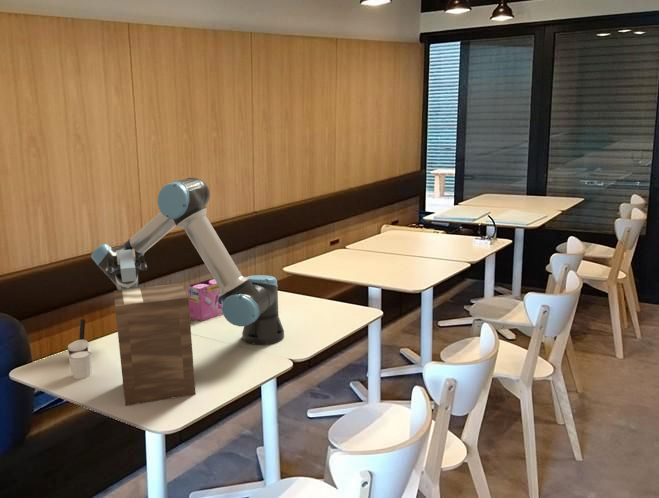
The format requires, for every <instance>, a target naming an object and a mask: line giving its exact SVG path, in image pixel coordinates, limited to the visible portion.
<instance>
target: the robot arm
mask: <svg viewBox="0 0 659 498" xmlns="http://www.w3.org/2000/svg"><path fill="white" fill-rule="evenodd" d="M210 198H211V193H210V188H209V185H208V184H207V183H206V182H205V181H204V180H202V179H201V178H198V177H188V178H184V179H179V180H172V181H171V182H169V183H166V184H165V185H163V186H162V187H161V189H160V190H159V191H158V195H157V200H156V201H157V206H158V209H159V212H157V214H156V215H155V216H154V217H153V218H151V219H150V220H149V221H148V222H147V223H145V225H144V226H142V227H141V228H140V229H139V230H138V231H137V232H136V233H134V234H133V235H132V236H130V238H128V239H127V240H126V242H124V243H122V244H120V245H117V246H115V247H111V246H110V245H109V244H107V243H103V244H101V245H99V246H97V247H96V248H95V249H94V250H93V252H91V255H90V256H91V259H92V261H94V263H95V264H96V266H98V268H99V269H100V270H101V271H102V272H103V273H104V274H105V275H106V276H107V277H108V279H110V280H111V281H112V283H113V284H114V285H115V286H116V289H117V290H126V289H135V288H138V286H139V272H140V270H141V271H147V270H148V265H147V262H146V261H145V253H146V252H148V250H150V248H152V247H153V246H154V245H156V243H159V241H160V240H161V239H162V238H164V237H165V236H166V235H167V234H169V232H171V231H172V230H173V229H175V227H178V228H182V229H183V230H184V231H185V233H186V235H187V237H188V238H189V240H190V241H191V243H192V245H193V246H194V249H196V251H197V253H198V254H199V256H200V258H201V259H202V261H203V263H204V264H205V266H206V267H207V269H208V271H209V273H210V275H211V276H212V278H214V279H215V281H216V283H217V284H218V286H219V288H220V294H219V296H220V298H221V300H222V301H223V305H222V312H223V314H222V315H223V317H224V318H225V320H226V321H227V322H228V323H230V324H231V325H233V326H236V327H243V330H242V333H241V334H242V340H243V341H244V342H245V343H247V344H251V345H259V346H260V345H261V346H262V345H270V344H276V343H279V342H280V341H283V339H284V338H285V330H284V327H283V324H282V322H281V318H280V317H279V316H280V315H279V296H278V295H279V294H278V293H279V292H278V287H279V286H278V280H277V278H276V277H275V276H272V275H263V274H262V275H261V274H260V275H258V274H256V275H248V276H243V275H242V273H241V271H240V270H239V268H238V266H237V265H236V263H235V261H234V260H233V258H232V256H231V255H230V254H229V252H228V250H227V248H226V247H225V245H224V243H223V242H222V240H221V239H220V237H219V235H218V233H217V231H216V230H215V229H214V227H213V225H212V223H211V221H210V220H209V218H208V216H207V212H208V208H207V204H208V203H209V200H210ZM120 250H132V254H133V259H134V263H135V269H136V280H137V281H128V282H122V276H121V268H120V258H119V251H120ZM139 264H140V265H139Z"/></svg>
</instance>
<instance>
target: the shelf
mask: <svg viewBox="0 0 659 498" xmlns="http://www.w3.org/2000/svg"><path fill="white" fill-rule="evenodd" d="M113 299H114V308H115V318H116V327H117V330H116V331H117V339H118V348H119V357H120V368H121V376H122V378H121V379H122V387H123V394H124V395H123V396H124V405H125V407H126V406H133V405H139V404H146V403H150V402H157V401H164V400H170V399H174V398H181V397H188V396H192V395H197V394H196V381H195V369H194V368H195V367H194V353H193V343H192V342H193V341H192V331H191V330H192V329H191V328H192V327H191V318H190V313H189V299H188V293H187V292H186V289H185V288H184V286H183V284H182V283H172V284H164V285H163V284H161V285H154V286H153V285H151V286H146V287H137V288H135V289H126V290H118V289H117V290H113Z"/></svg>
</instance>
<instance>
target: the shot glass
mask: <svg viewBox="0 0 659 498" xmlns="http://www.w3.org/2000/svg"><path fill="white" fill-rule="evenodd" d="M68 360H69V361H68V362H69V366H70V369H71V374H72V377H73V379H75V380H76V379H77V380H80V379H86V378H88V377H91V376H92V368H93V367H92V352H91V351H89V350H88V351H79V352H75V353H72V354H69V355H68Z"/></svg>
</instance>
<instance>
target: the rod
mask: <svg viewBox="0 0 659 498" xmlns="http://www.w3.org/2000/svg"><path fill="white" fill-rule="evenodd" d="M119 258H120V268H121V276H122V282H128V281H137V280H136V269H135V263H134V259H133V254H132V250H120V251H119Z"/></svg>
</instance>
